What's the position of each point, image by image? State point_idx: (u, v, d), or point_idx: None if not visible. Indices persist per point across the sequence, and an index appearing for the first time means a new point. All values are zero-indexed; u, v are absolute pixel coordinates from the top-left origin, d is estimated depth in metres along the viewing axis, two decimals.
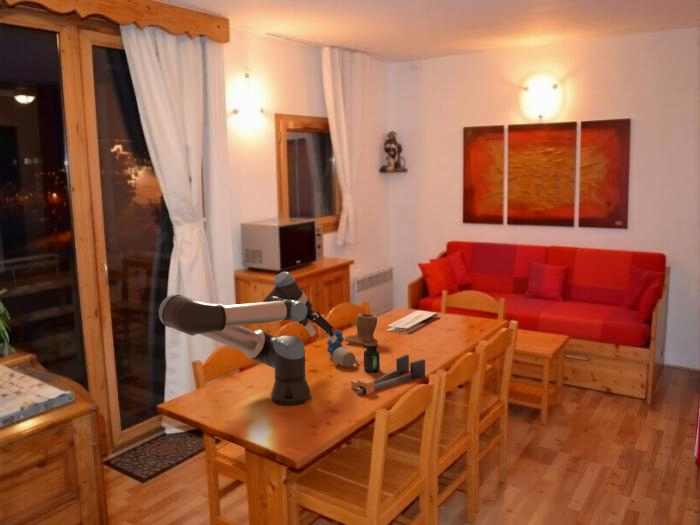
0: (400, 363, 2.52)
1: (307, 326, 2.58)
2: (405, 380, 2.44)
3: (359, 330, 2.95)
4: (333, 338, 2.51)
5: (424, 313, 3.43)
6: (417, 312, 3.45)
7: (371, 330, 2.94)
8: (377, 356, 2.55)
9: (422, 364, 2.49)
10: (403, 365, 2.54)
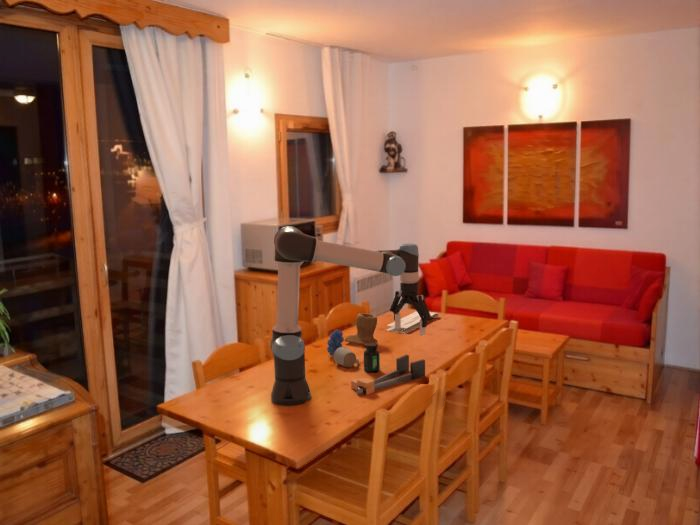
0: (400, 363, 2.52)
1: (397, 315, 2.52)
2: (405, 380, 2.44)
3: (359, 330, 2.95)
4: (423, 331, 2.44)
5: None
6: (417, 312, 3.45)
7: (371, 330, 2.94)
8: (377, 356, 2.55)
9: (422, 364, 2.49)
10: (403, 365, 2.54)
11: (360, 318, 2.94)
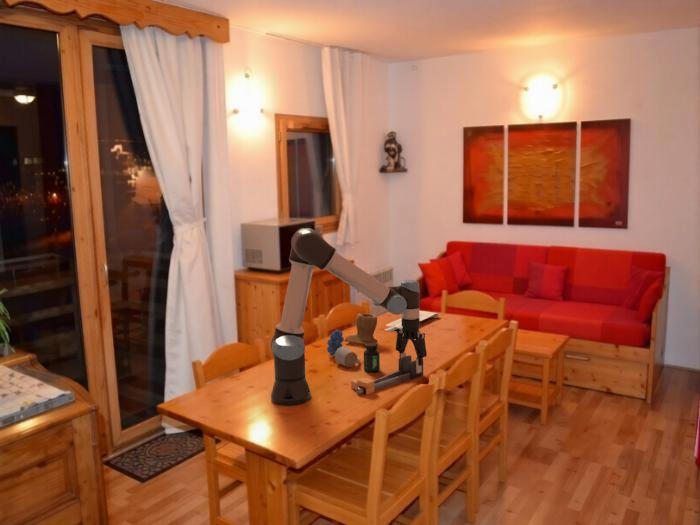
0: (402, 364, 2.51)
1: (403, 355, 2.53)
2: (404, 379, 2.45)
3: (359, 330, 2.95)
4: (419, 369, 2.48)
5: (424, 313, 3.43)
6: None
7: (371, 330, 2.94)
8: (377, 356, 2.55)
9: None
10: (405, 366, 2.53)
11: (360, 318, 2.94)
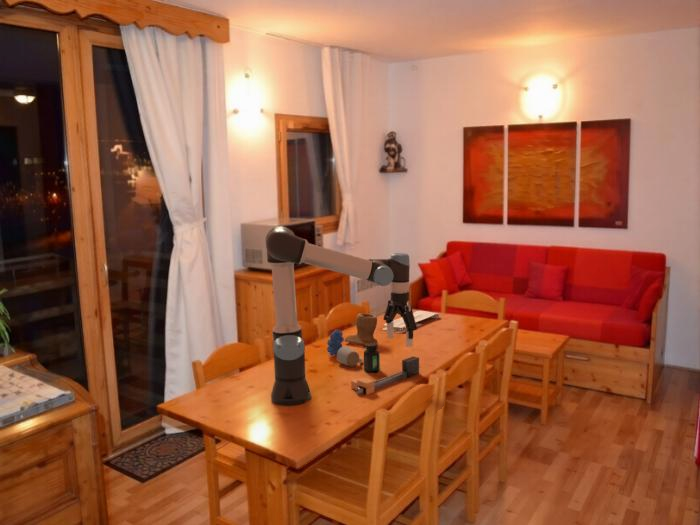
0: None
1: (389, 324, 2.51)
2: (401, 378, 2.46)
3: (359, 330, 2.95)
4: (409, 342, 2.40)
5: (425, 313, 3.42)
6: (418, 312, 3.45)
7: (371, 330, 2.94)
8: (377, 356, 2.55)
9: (416, 362, 2.51)
10: None
11: (360, 318, 2.94)
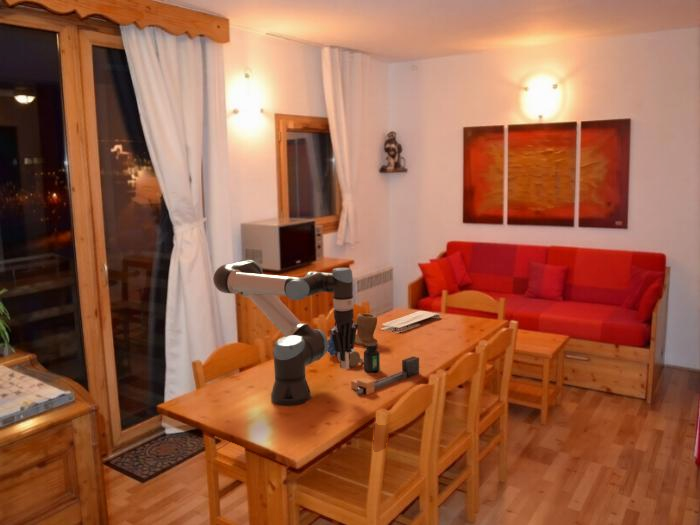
0: None
1: None
2: (401, 378, 2.46)
3: (359, 330, 2.95)
4: (343, 364, 2.31)
5: (425, 313, 3.42)
6: (419, 312, 3.45)
7: (371, 330, 2.94)
8: (377, 356, 2.55)
9: (416, 362, 2.51)
10: None
11: (360, 318, 2.94)
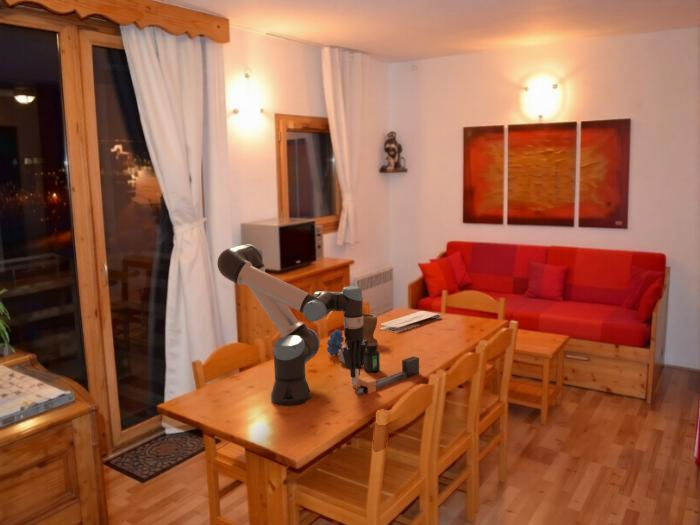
0: None
1: None
2: (401, 378, 2.46)
3: None
4: (353, 381, 2.35)
5: (426, 314, 3.42)
6: (419, 312, 3.45)
7: (371, 330, 2.94)
8: (377, 356, 2.55)
9: (416, 362, 2.51)
10: None
11: None
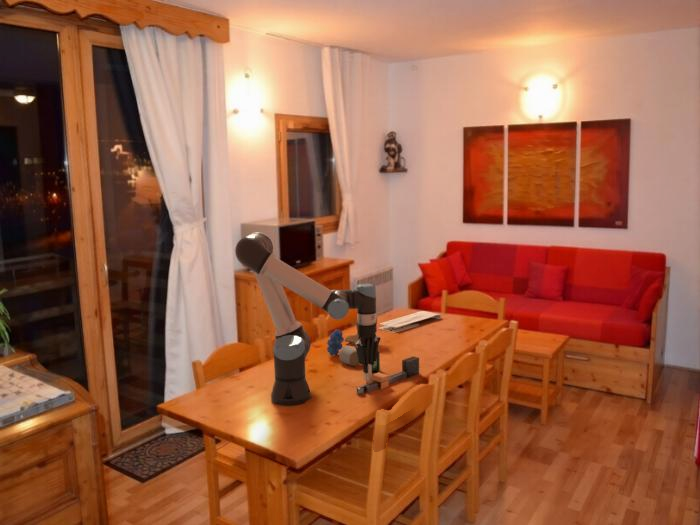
0: None
1: None
2: (401, 378, 2.46)
3: None
4: (366, 376, 2.41)
5: (426, 314, 3.41)
6: (420, 312, 3.45)
7: None
8: (377, 356, 2.55)
9: (416, 362, 2.51)
10: None
11: None
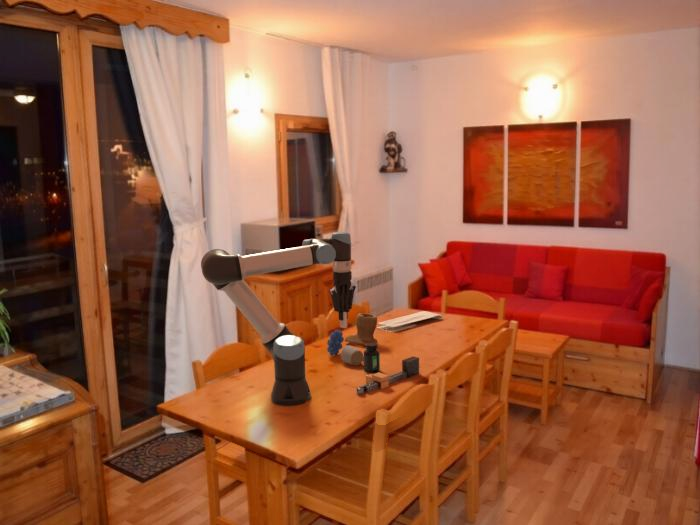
0: None
1: None
2: (401, 378, 2.46)
3: (359, 330, 2.95)
4: (341, 324, 2.45)
5: (427, 314, 3.41)
6: (421, 312, 3.44)
7: (371, 330, 2.94)
8: (377, 356, 2.55)
9: (416, 362, 2.51)
10: None
11: (360, 318, 2.94)
